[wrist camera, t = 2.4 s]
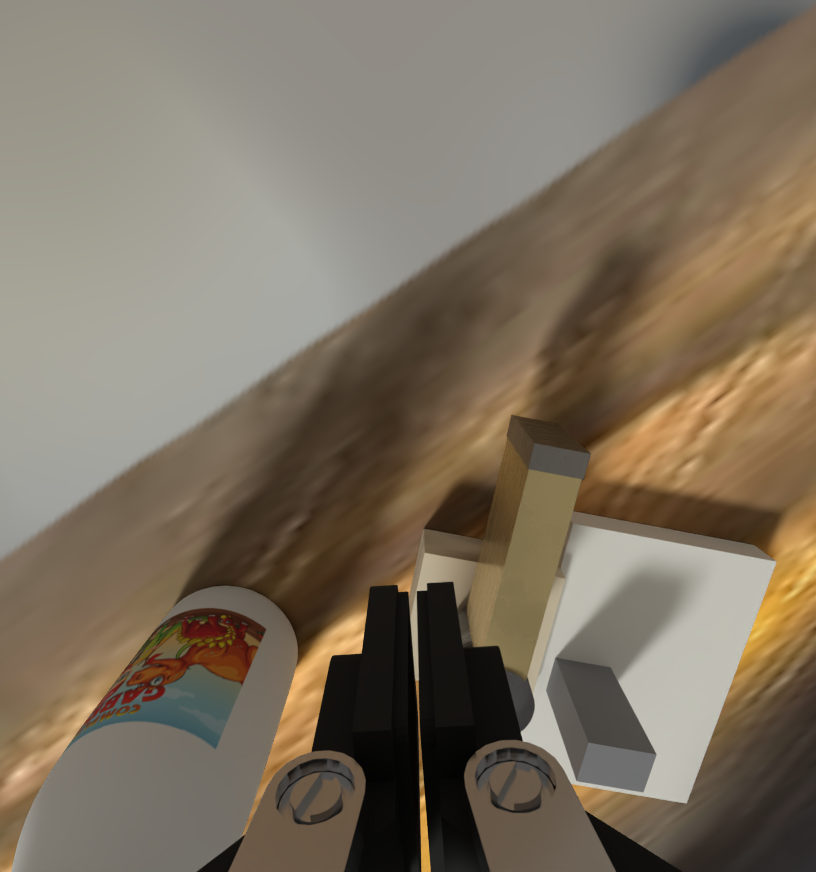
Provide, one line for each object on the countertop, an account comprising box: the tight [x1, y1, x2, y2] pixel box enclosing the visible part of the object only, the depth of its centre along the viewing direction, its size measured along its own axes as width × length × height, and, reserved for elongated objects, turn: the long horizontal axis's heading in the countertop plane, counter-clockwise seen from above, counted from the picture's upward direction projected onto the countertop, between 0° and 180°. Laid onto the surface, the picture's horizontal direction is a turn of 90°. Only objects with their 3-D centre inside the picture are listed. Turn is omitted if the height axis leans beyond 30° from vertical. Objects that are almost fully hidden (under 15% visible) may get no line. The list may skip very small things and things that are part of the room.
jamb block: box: [409, 529, 565, 694], centre depth 31 cm, size 7×7×3 cm
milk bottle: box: [11, 585, 298, 872], centre depth 23 cm, size 8×8×20 cm
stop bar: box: [458, 415, 591, 731], centre depth 25 cm, size 13×3×5 cm, turn 169°
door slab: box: [521, 511, 776, 803], centre depth 29 cm, size 10×15×8 cm
